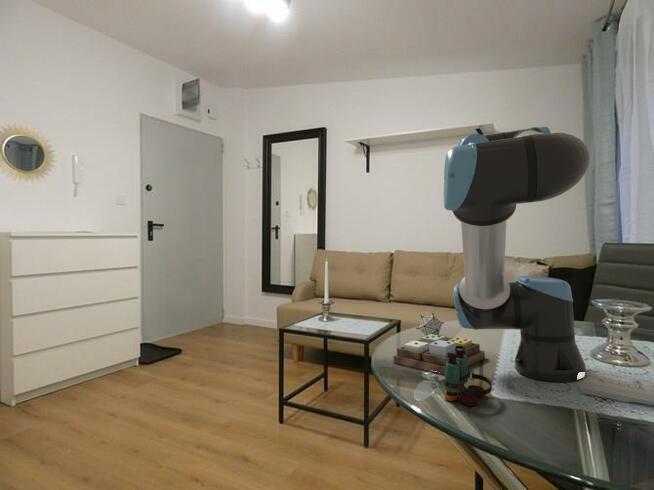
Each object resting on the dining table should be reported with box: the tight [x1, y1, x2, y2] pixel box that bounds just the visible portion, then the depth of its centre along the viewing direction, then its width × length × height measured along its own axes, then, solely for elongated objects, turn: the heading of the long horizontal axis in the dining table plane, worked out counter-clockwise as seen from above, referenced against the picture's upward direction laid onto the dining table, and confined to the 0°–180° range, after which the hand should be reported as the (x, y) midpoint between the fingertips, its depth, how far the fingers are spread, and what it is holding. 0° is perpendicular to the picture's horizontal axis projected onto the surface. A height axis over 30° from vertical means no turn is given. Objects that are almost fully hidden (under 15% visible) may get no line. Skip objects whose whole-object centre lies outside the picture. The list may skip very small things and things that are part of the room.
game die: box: [416, 313, 445, 336], centre depth 134 cm, size 9×8×10 cm
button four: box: [449, 337, 473, 349], centre depth 108 cm, size 5×5×3 cm
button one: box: [403, 340, 429, 352], centre depth 109 cm, size 5×5×3 cm
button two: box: [429, 340, 456, 358], centre depth 103 cm, size 5×5×3 cm
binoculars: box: [443, 345, 493, 407], centre depth 83 cm, size 9×11×10 cm
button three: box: [420, 334, 446, 344], centre depth 115 cm, size 5×5×3 cm
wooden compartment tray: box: [392, 338, 486, 376], centre depth 109 cm, size 18×18×4 cm
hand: (480, 268), depth 115 cm, fingers closed
